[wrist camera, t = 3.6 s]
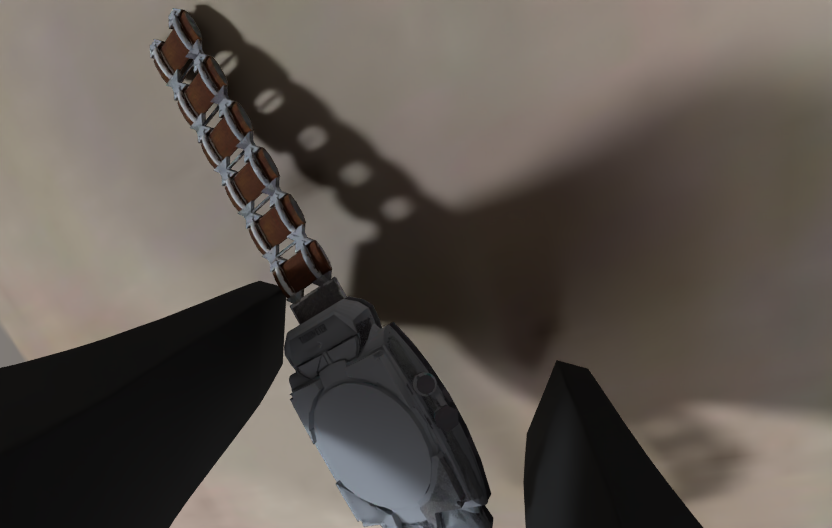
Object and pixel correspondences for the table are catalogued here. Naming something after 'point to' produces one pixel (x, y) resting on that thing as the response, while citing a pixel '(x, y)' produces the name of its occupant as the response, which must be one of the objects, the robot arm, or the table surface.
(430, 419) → the wristwatch
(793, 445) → the table surface
